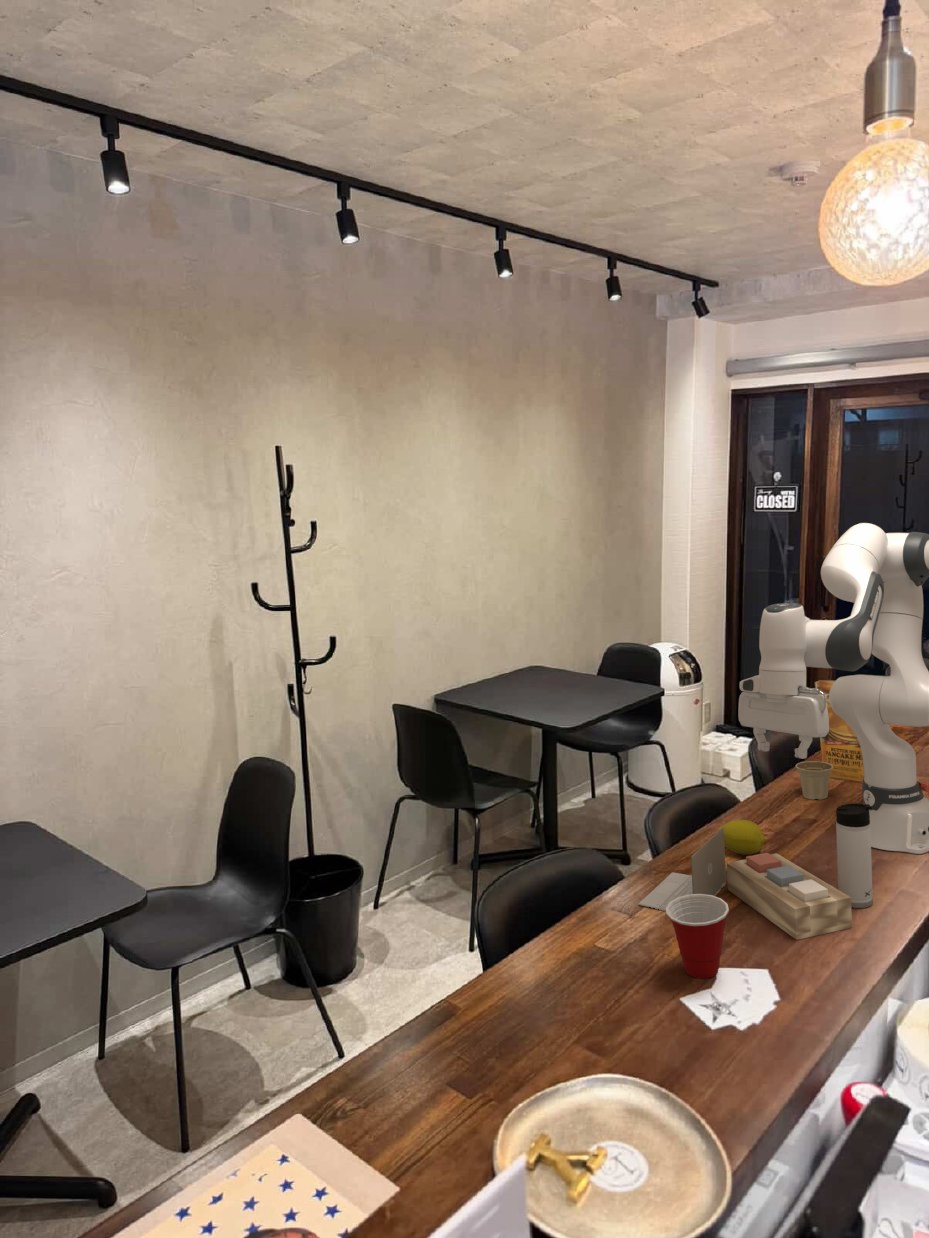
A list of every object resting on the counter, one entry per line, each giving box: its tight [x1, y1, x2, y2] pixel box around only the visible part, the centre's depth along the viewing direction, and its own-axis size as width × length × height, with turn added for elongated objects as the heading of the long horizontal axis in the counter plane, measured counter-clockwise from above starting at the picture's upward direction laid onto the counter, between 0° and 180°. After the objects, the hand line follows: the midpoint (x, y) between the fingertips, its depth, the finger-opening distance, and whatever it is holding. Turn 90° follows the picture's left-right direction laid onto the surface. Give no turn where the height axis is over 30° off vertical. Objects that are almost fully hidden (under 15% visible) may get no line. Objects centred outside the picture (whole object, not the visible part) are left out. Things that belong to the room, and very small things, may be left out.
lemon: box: [717, 819, 767, 856], centre depth 206 cm, size 11×8×8 cm
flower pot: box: [795, 760, 833, 801], centre depth 240 cm, size 9×9×9 cm
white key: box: [789, 879, 828, 903], centre depth 169 cm, size 5×5×3 cm
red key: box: [745, 852, 781, 873], centre depth 184 cm, size 5×5×3 cm
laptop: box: [637, 828, 727, 912], centre depth 186 cm, size 18×12×13 cm
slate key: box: [767, 865, 804, 887], centre depth 177 cm, size 5×5×3 cm
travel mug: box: [835, 802, 874, 909], centre depth 176 cm, size 6×7×20 cm
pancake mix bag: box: [814, 679, 864, 784], centre depth 251 cm, size 7×19×28 cm, turn 44°
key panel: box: [726, 852, 853, 941], centre depth 177 cm, size 12×24×6 cm, turn 14°
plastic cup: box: [665, 894, 730, 979], centre depth 156 cm, size 11×11×12 cm
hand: (781, 754), depth 175 cm, fingers open, 8 cm apart
